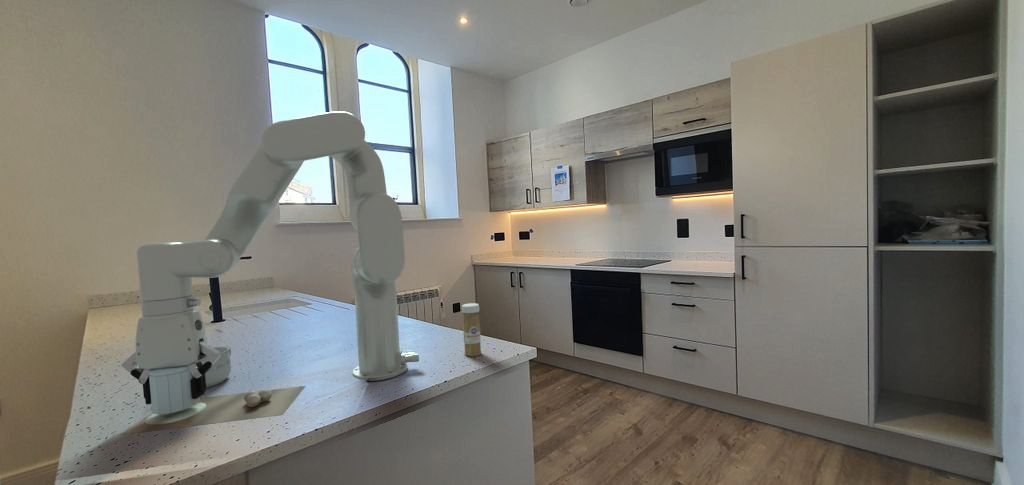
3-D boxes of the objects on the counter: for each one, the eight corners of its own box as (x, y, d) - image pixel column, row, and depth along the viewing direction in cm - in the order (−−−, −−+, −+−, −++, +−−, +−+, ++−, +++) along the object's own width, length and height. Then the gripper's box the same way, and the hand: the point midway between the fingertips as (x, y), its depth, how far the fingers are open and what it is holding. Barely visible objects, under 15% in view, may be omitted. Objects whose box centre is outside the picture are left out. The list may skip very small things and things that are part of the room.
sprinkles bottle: (469, 358, 104) (467, 306, 104) (461, 354, 108) (458, 304, 108) (484, 354, 107) (482, 304, 107) (476, 350, 111) (473, 302, 110)
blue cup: (207, 396, 82) (204, 358, 81) (186, 411, 75) (183, 369, 74) (167, 400, 80) (164, 362, 80) (142, 416, 73) (139, 374, 73)
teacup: (200, 397, 87) (197, 361, 86) (160, 395, 89) (157, 360, 89) (254, 373, 100) (251, 342, 100) (218, 372, 103) (215, 341, 102)
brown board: (305, 389, 89) (304, 375, 88) (282, 418, 75) (281, 401, 75) (170, 405, 84) (169, 389, 83) (119, 439, 70) (117, 421, 70)
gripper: (229, 300, 82) (235, 385, 83) (129, 307, 79) (137, 396, 80) (209, 307, 75) (216, 401, 76) (98, 315, 71) (107, 413, 72)
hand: (176, 398), depth 78 cm, fingers closed on blue cup, 7 cm apart
